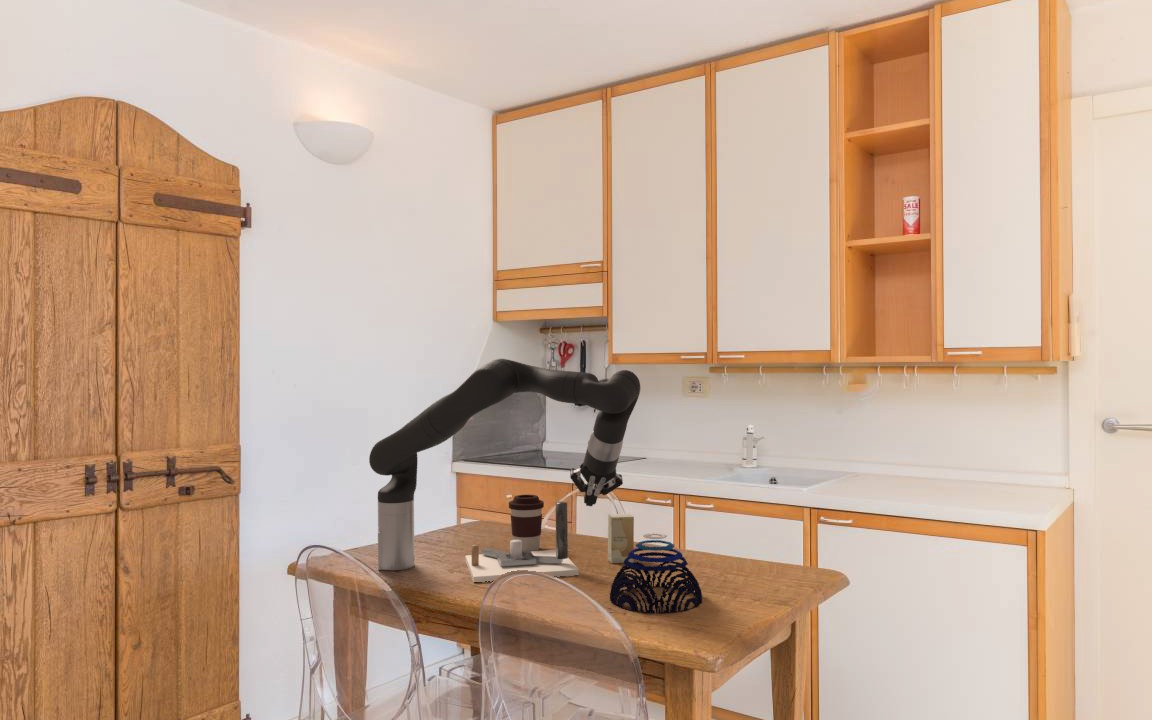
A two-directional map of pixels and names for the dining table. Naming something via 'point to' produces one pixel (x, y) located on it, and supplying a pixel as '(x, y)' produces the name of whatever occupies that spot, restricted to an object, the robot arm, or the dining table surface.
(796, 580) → the dining table surface
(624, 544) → the skincare box
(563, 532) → the grey angle bracket
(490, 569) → the post base
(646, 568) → the decorative bowl
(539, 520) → the coffee cup
